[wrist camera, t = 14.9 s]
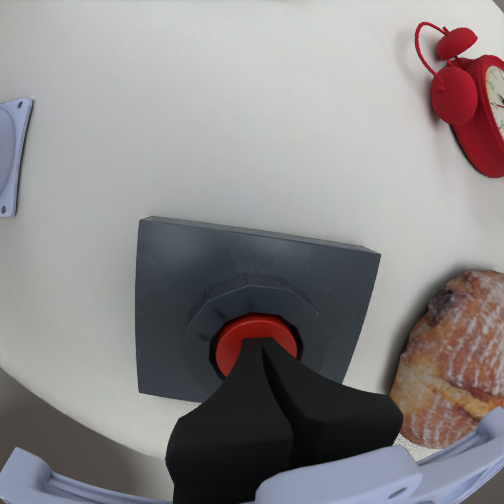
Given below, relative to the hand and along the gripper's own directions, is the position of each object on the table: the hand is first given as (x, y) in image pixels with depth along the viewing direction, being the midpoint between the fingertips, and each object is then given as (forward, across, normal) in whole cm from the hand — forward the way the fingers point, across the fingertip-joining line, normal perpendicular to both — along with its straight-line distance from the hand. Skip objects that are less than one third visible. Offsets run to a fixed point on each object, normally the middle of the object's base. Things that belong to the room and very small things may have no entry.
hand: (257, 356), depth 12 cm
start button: (+2, 0, 0) cm, 2 cm away
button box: (+4, 0, 0) cm, 4 cm away
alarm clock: (+4, -17, -16) cm, 24 cm away
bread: (+4, -19, +6) cm, 21 cm away
